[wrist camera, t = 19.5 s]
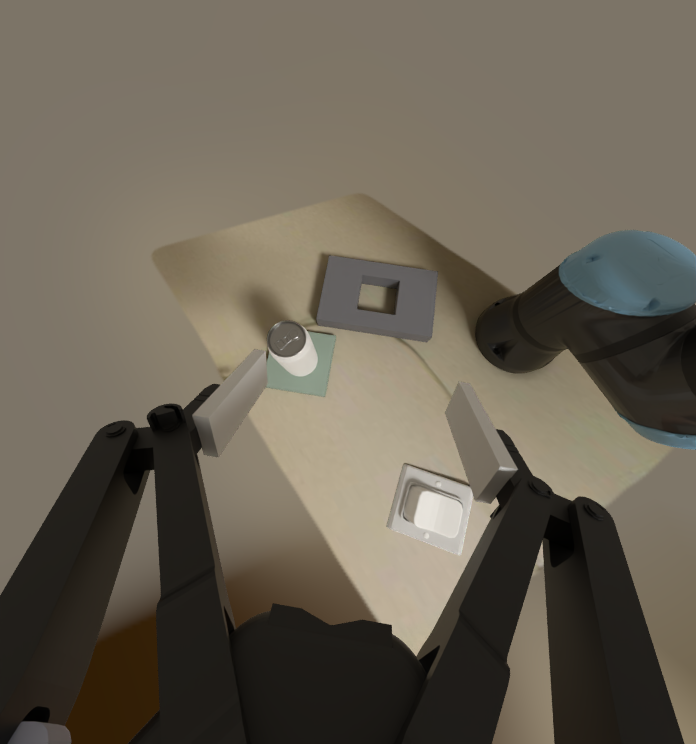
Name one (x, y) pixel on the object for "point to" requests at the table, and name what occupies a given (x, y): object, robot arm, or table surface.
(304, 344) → the can
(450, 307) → the table surface
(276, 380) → the mat
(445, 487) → the light switch
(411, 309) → the block
